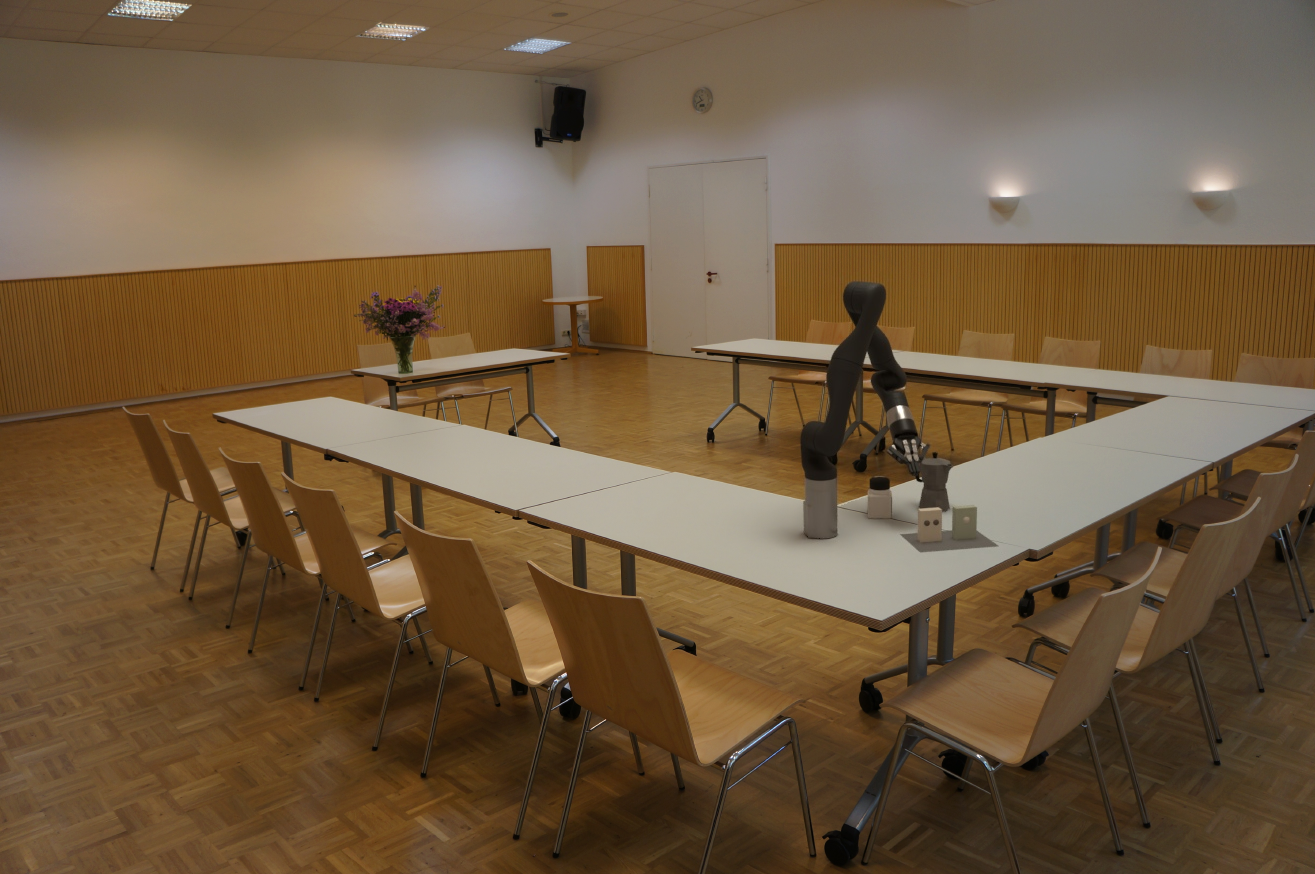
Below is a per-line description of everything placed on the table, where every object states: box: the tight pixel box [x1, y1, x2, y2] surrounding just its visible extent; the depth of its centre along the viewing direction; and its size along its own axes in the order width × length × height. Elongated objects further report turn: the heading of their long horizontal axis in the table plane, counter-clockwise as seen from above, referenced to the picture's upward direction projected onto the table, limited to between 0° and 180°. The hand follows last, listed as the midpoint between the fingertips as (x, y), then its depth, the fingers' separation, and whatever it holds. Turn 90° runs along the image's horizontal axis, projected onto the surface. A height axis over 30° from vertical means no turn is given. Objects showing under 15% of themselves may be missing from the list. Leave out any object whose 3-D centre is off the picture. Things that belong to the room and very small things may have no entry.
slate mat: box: [899, 529, 999, 553], centre depth 264 cm, size 22×16×1 cm
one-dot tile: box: [951, 504, 978, 540], centre depth 264 cm, size 6×3×9 cm, turn 95°
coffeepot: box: [914, 451, 954, 513], centre depth 295 cm, size 15×9×18 cm, turn 35°
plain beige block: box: [917, 507, 943, 542], centre depth 263 cm, size 6×3×9 cm, turn 95°
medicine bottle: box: [867, 475, 893, 519], centre depth 290 cm, size 7×7×12 cm
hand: (916, 474), depth 272 cm, fingers closed
